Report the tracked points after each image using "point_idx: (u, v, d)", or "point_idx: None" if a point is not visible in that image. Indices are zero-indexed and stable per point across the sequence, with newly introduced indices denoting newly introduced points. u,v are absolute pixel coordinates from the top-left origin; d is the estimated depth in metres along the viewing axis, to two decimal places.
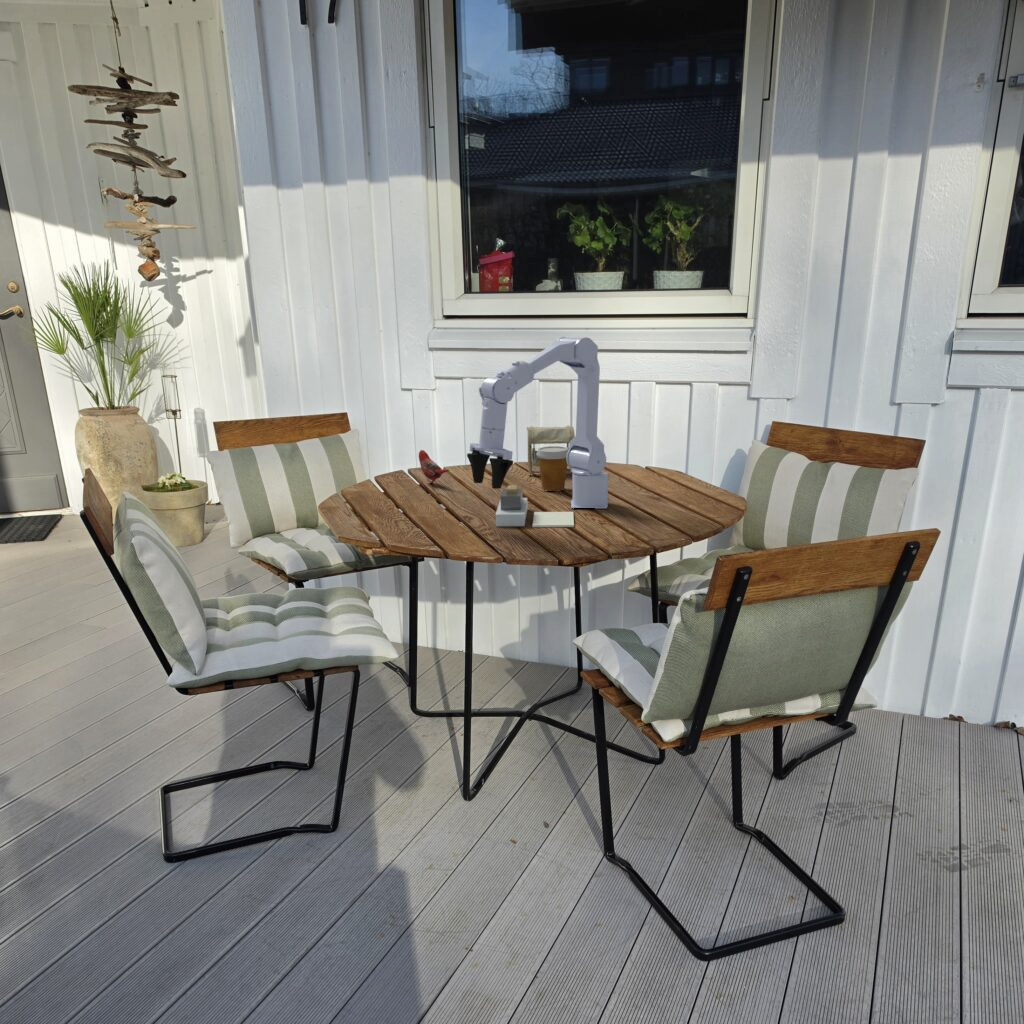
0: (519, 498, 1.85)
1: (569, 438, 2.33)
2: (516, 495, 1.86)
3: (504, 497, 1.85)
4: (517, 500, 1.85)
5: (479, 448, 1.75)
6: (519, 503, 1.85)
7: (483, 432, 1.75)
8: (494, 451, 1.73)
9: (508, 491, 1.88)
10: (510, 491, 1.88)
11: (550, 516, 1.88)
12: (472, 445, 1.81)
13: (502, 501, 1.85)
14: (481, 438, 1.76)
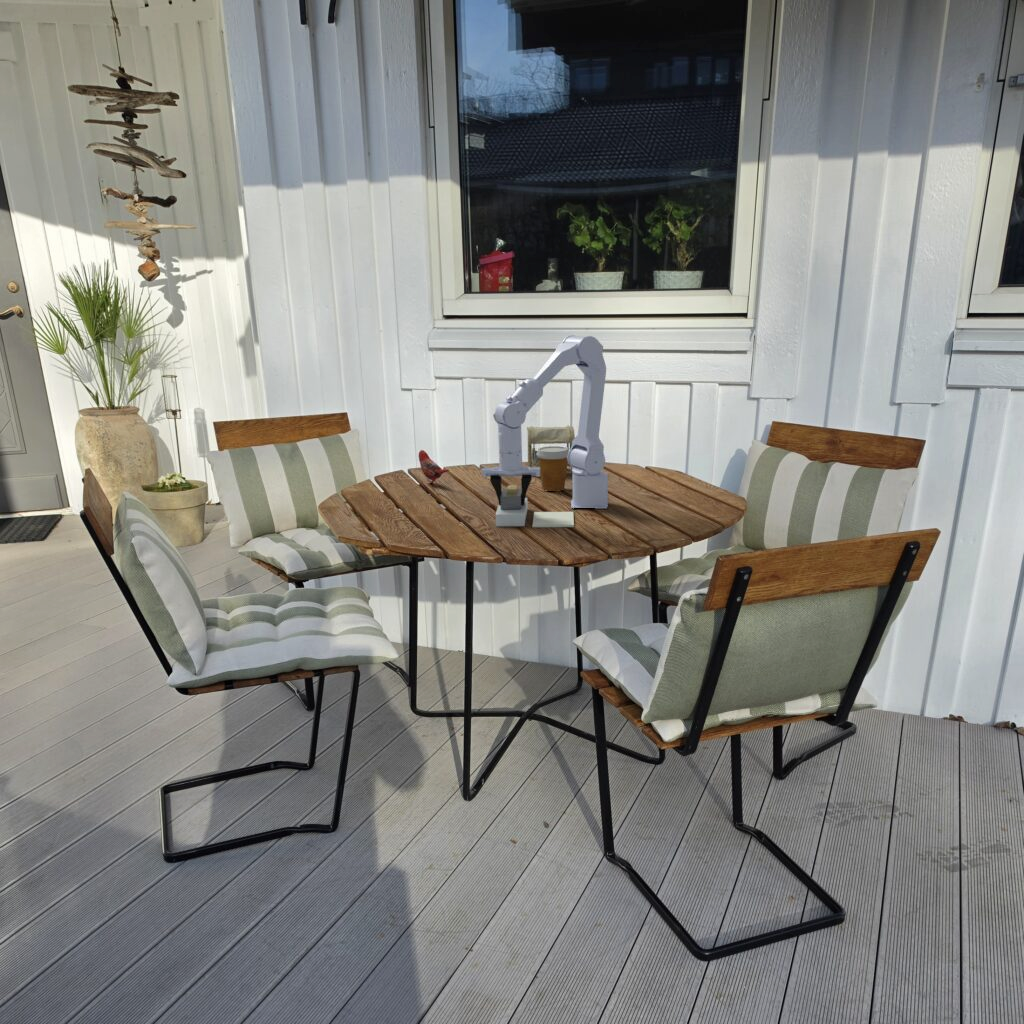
0: (519, 498, 1.85)
1: (569, 438, 2.33)
2: (516, 495, 1.86)
3: (504, 497, 1.85)
4: (517, 500, 1.85)
5: (513, 473, 1.83)
6: (519, 503, 1.85)
7: (511, 457, 1.83)
8: (526, 471, 1.85)
9: (508, 491, 1.88)
10: (510, 491, 1.88)
11: (550, 516, 1.88)
12: (486, 471, 1.86)
13: (502, 501, 1.85)
14: (508, 463, 1.84)
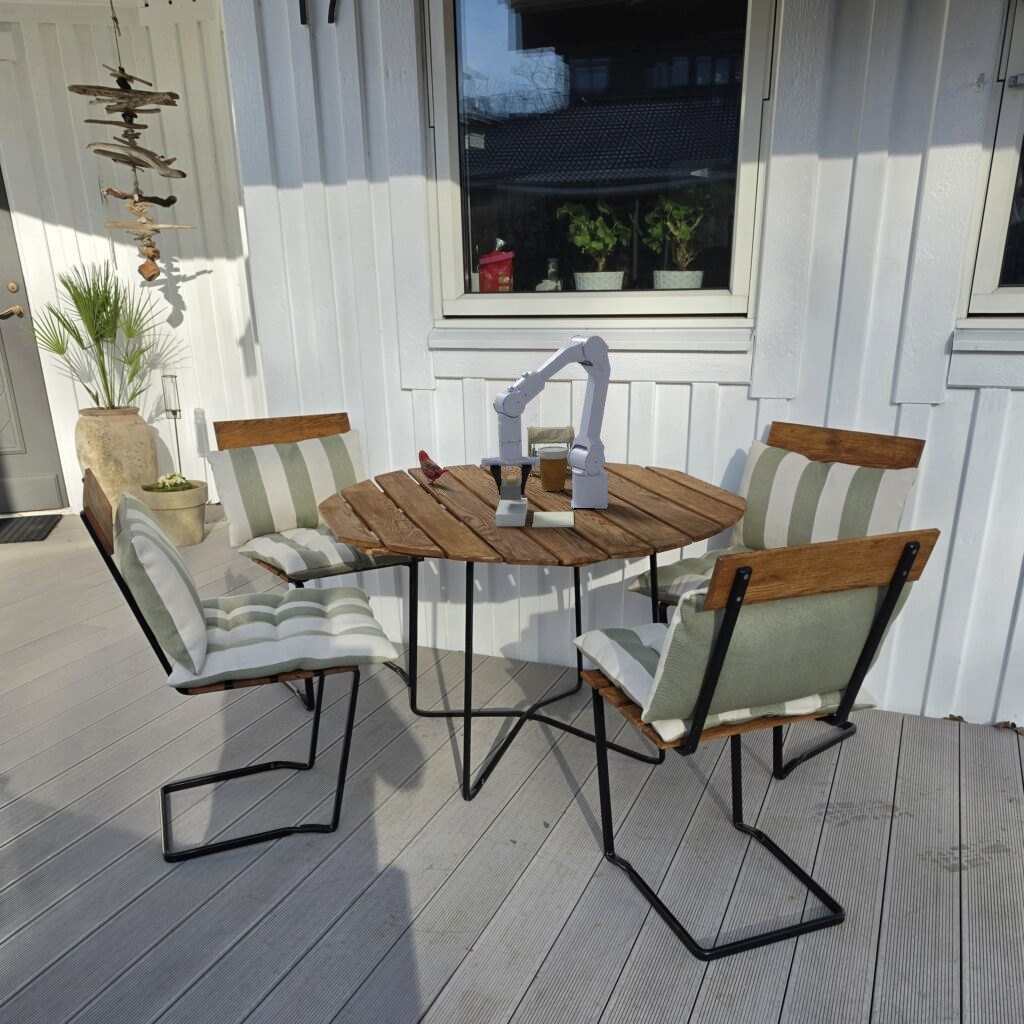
0: (519, 488, 1.84)
1: (569, 438, 2.33)
2: (516, 485, 1.85)
3: (504, 487, 1.84)
4: (517, 490, 1.84)
5: (512, 462, 1.83)
6: (519, 493, 1.84)
7: (510, 446, 1.83)
8: (526, 461, 1.84)
9: (508, 481, 1.87)
10: (510, 481, 1.87)
11: (550, 516, 1.88)
12: (486, 461, 1.86)
13: (502, 491, 1.85)
14: (508, 452, 1.83)
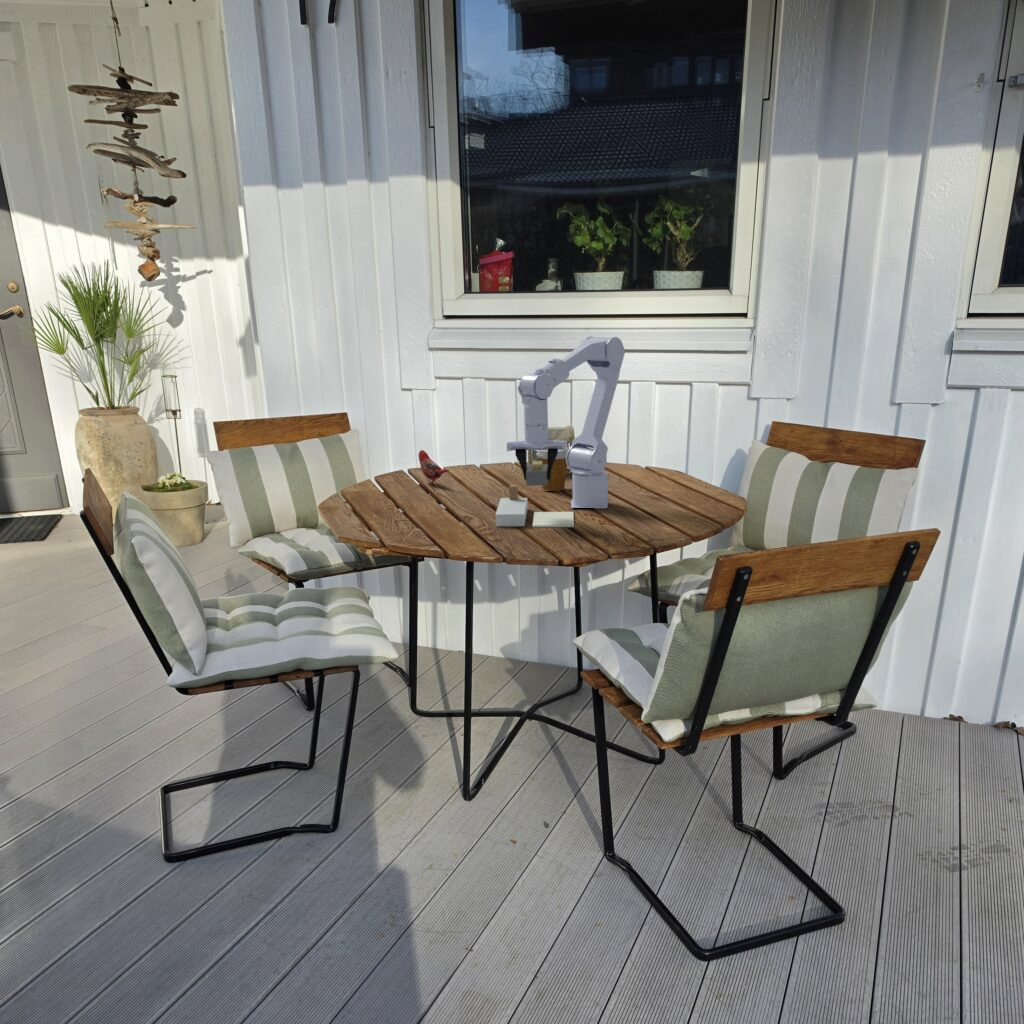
0: (545, 473, 1.81)
1: (569, 438, 2.33)
2: (542, 470, 1.82)
3: (530, 472, 1.81)
4: (543, 475, 1.81)
5: (539, 446, 1.79)
6: (545, 478, 1.81)
7: (537, 430, 1.79)
8: (552, 445, 1.81)
9: (533, 466, 1.84)
10: (535, 466, 1.84)
11: (550, 516, 1.88)
12: (511, 444, 1.82)
13: (528, 476, 1.81)
14: (534, 436, 1.80)
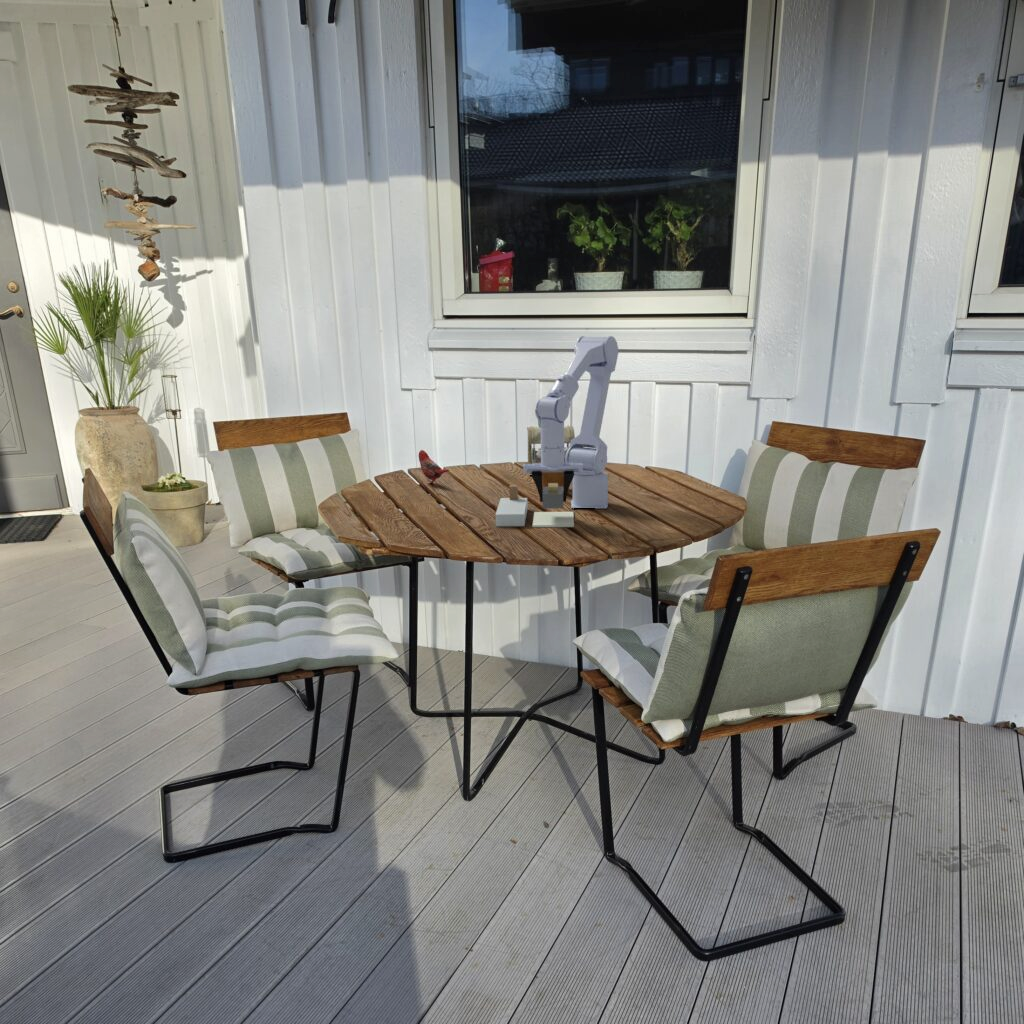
0: (562, 496, 1.81)
1: (569, 438, 2.33)
2: (558, 493, 1.82)
3: (546, 495, 1.81)
4: (559, 498, 1.81)
5: (555, 468, 1.79)
6: (561, 501, 1.81)
7: (553, 452, 1.79)
8: (569, 467, 1.81)
9: (550, 489, 1.84)
10: (552, 489, 1.84)
11: (550, 516, 1.88)
12: (528, 467, 1.82)
13: (544, 499, 1.81)
14: (551, 458, 1.80)
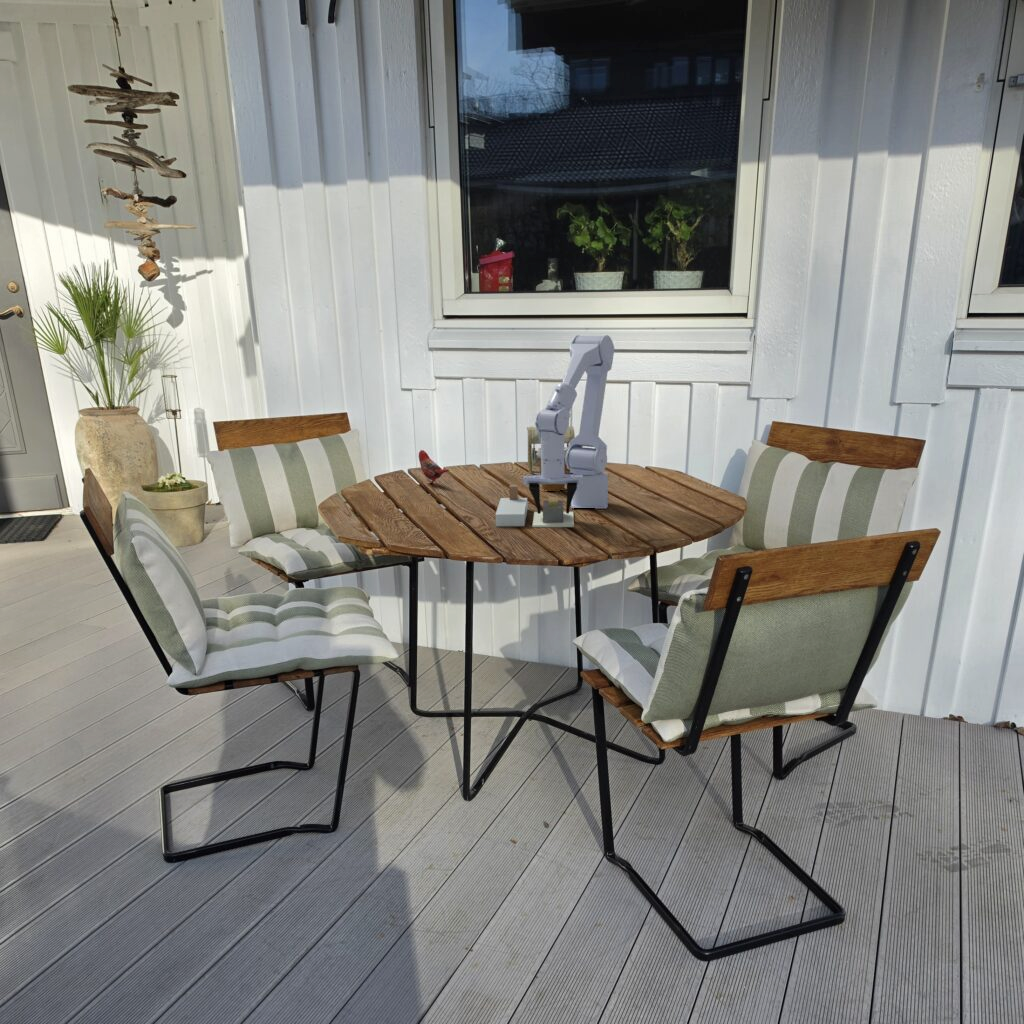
0: (562, 511, 1.82)
1: (569, 438, 2.33)
2: (558, 507, 1.83)
3: (546, 510, 1.82)
4: (560, 513, 1.82)
5: (556, 480, 1.80)
6: (562, 516, 1.82)
7: (553, 464, 1.80)
8: (569, 479, 1.82)
9: (550, 503, 1.85)
10: (552, 503, 1.85)
11: None
12: (528, 479, 1.83)
13: (544, 514, 1.82)
14: (551, 470, 1.81)
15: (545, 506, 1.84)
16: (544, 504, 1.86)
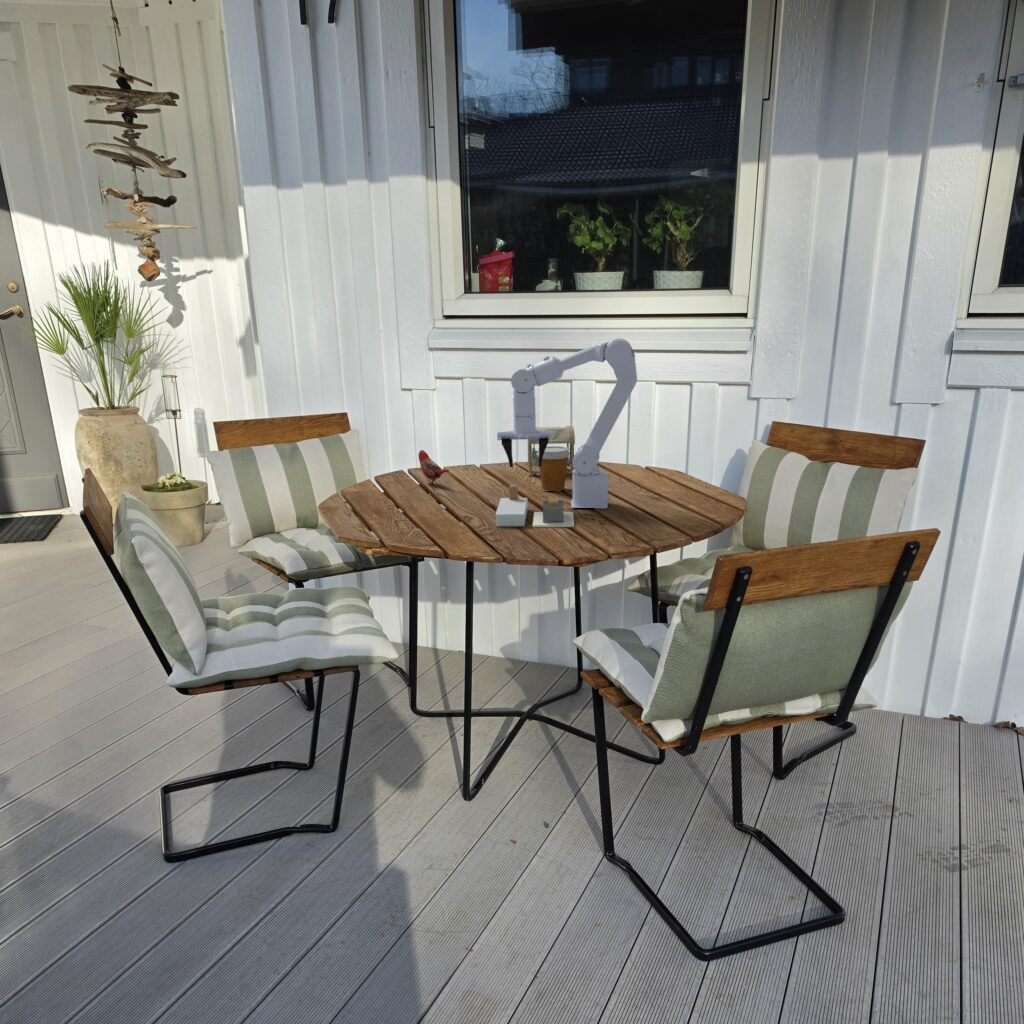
0: (562, 511, 1.82)
1: (569, 438, 2.33)
2: (558, 507, 1.83)
3: (546, 510, 1.82)
4: (560, 513, 1.82)
5: (527, 435, 1.94)
6: (562, 516, 1.82)
7: (525, 420, 1.94)
8: (539, 434, 1.96)
9: (550, 503, 1.85)
10: (552, 503, 1.85)
11: None
12: (502, 434, 1.97)
13: (544, 514, 1.82)
14: (523, 426, 1.94)
15: (545, 506, 1.84)
16: (544, 504, 1.86)
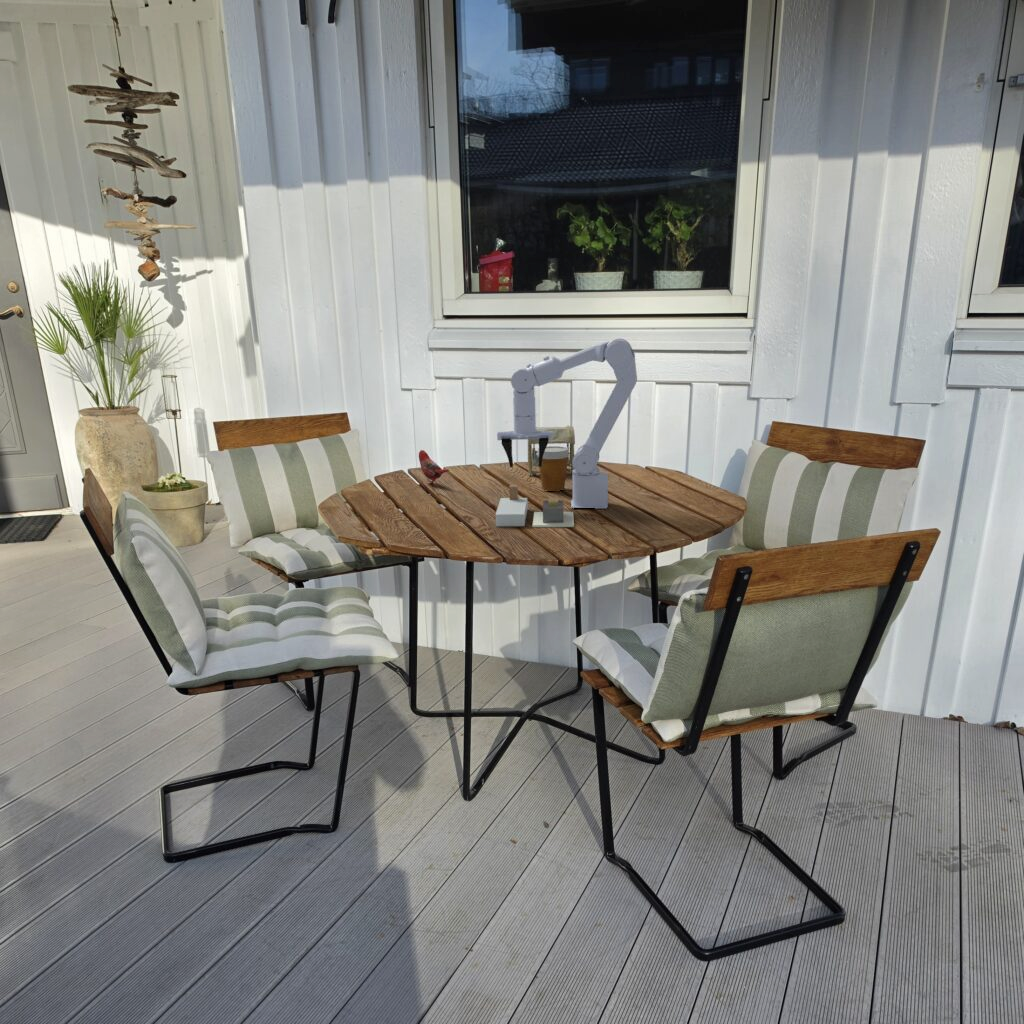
0: (562, 511, 1.82)
1: (569, 438, 2.33)
2: (558, 507, 1.83)
3: (546, 510, 1.82)
4: (560, 513, 1.82)
5: (527, 435, 1.94)
6: (562, 516, 1.82)
7: (525, 420, 1.94)
8: (539, 434, 1.96)
9: (550, 503, 1.85)
10: (552, 503, 1.85)
11: None
12: (502, 434, 1.97)
13: (544, 514, 1.82)
14: (523, 426, 1.94)
15: (545, 506, 1.84)
16: (544, 504, 1.86)
